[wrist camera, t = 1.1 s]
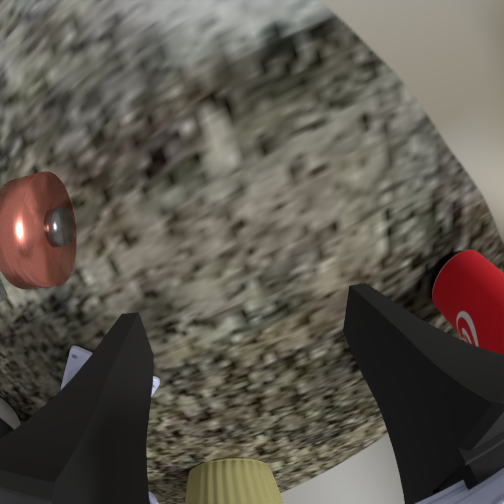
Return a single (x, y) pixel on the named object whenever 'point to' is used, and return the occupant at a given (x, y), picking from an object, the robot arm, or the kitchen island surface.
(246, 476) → the potted cactus
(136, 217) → the kitchen island surface
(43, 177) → the copper knob on rod
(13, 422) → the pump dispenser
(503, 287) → the beverage can
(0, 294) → the gray bracket
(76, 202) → the kitchen island surface
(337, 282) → the kitchen island surface
